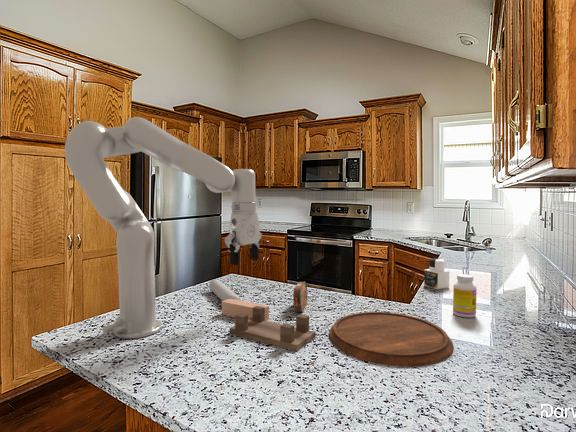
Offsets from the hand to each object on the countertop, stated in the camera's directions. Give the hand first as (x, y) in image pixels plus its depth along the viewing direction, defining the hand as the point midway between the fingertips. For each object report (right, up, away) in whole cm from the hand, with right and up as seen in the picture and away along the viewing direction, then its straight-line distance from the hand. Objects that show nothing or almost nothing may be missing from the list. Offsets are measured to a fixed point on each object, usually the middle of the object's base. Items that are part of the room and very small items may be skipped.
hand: (244, 262), depth 109 cm
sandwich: (+18, -17, +10) cm, 27 cm away
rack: (+9, -18, -14) cm, 25 cm away
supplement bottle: (+71, -18, +2) cm, 73 cm away
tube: (-11, -17, +21) cm, 29 cm away
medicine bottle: (+77, -16, +37) cm, 87 cm away
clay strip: (0, -18, +1) cm, 18 cm away
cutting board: (+41, -19, -16) cm, 48 cm away
